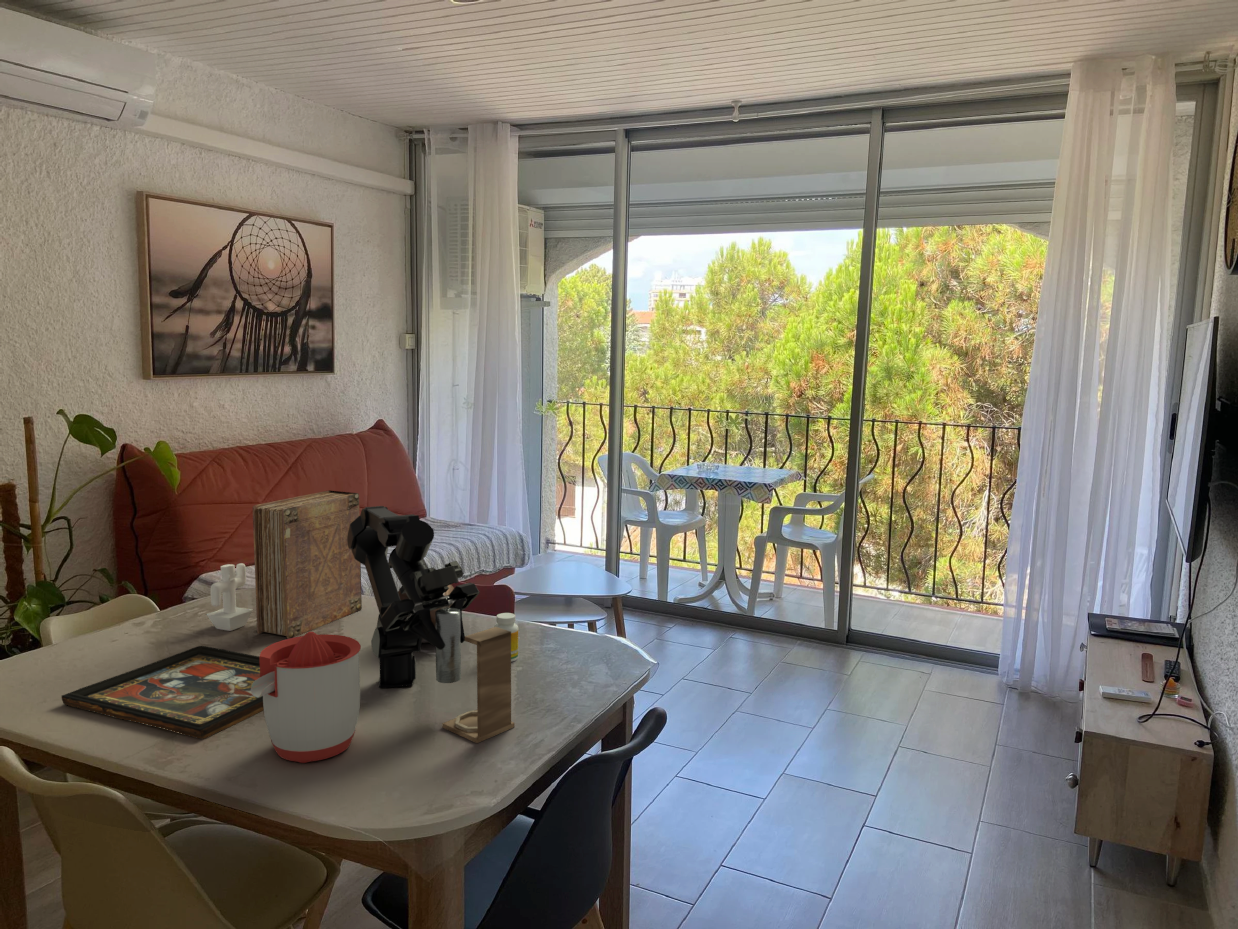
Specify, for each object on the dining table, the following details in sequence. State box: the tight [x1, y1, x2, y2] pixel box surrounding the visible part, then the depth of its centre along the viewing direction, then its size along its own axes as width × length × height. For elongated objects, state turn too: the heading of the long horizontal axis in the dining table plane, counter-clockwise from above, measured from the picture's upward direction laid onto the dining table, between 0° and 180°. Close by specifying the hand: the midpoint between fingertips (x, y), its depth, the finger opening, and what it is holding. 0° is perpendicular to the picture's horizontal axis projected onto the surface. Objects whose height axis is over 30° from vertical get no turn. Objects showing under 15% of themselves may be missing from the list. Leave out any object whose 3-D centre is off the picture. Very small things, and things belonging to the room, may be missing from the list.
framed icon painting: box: [61, 645, 264, 740], centre depth 167 cm, size 38×35×3 cm
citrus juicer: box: [251, 630, 362, 764], centre depth 143 cm, size 16×17×20 cm
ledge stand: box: [441, 626, 516, 744], centre depth 152 cm, size 9×9×18 cm
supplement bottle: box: [493, 612, 519, 663], centre depth 186 cm, size 5×5×10 cm
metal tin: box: [435, 608, 462, 684], centre depth 157 cm, size 4×4×12 cm
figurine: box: [205, 562, 254, 632], centre depth 204 cm, size 7×9×15 cm
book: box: [252, 490, 363, 639], centre depth 208 cm, size 25×9×30 cm, turn 157°
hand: (453, 645), depth 156 cm, fingers closed on metal tin, 4 cm apart
